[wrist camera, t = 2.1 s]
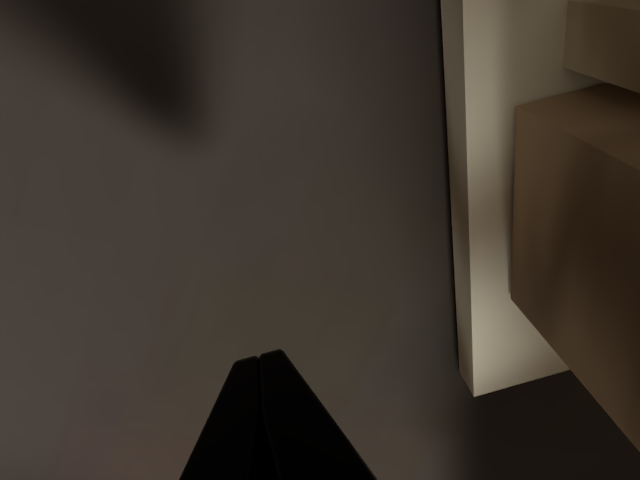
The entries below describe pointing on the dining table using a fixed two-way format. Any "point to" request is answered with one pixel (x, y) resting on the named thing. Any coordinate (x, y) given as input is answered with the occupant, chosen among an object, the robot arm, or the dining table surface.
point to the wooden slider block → (583, 238)
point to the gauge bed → (513, 152)
